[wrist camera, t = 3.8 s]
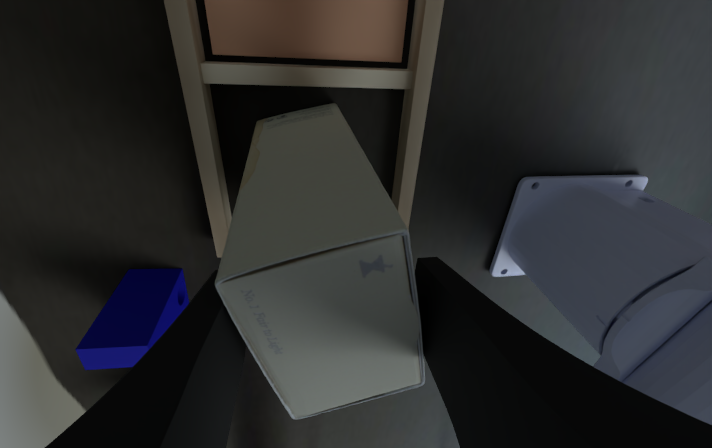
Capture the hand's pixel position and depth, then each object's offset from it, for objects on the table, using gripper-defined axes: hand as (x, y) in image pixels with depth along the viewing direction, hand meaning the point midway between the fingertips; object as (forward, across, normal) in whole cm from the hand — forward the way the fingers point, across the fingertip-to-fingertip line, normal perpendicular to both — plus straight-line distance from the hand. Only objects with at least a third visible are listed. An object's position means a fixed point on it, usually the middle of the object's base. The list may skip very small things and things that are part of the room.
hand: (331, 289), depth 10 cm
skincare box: (+10, 0, 0) cm, 11 cm away
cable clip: (+11, +9, +13) cm, 19 cm away
